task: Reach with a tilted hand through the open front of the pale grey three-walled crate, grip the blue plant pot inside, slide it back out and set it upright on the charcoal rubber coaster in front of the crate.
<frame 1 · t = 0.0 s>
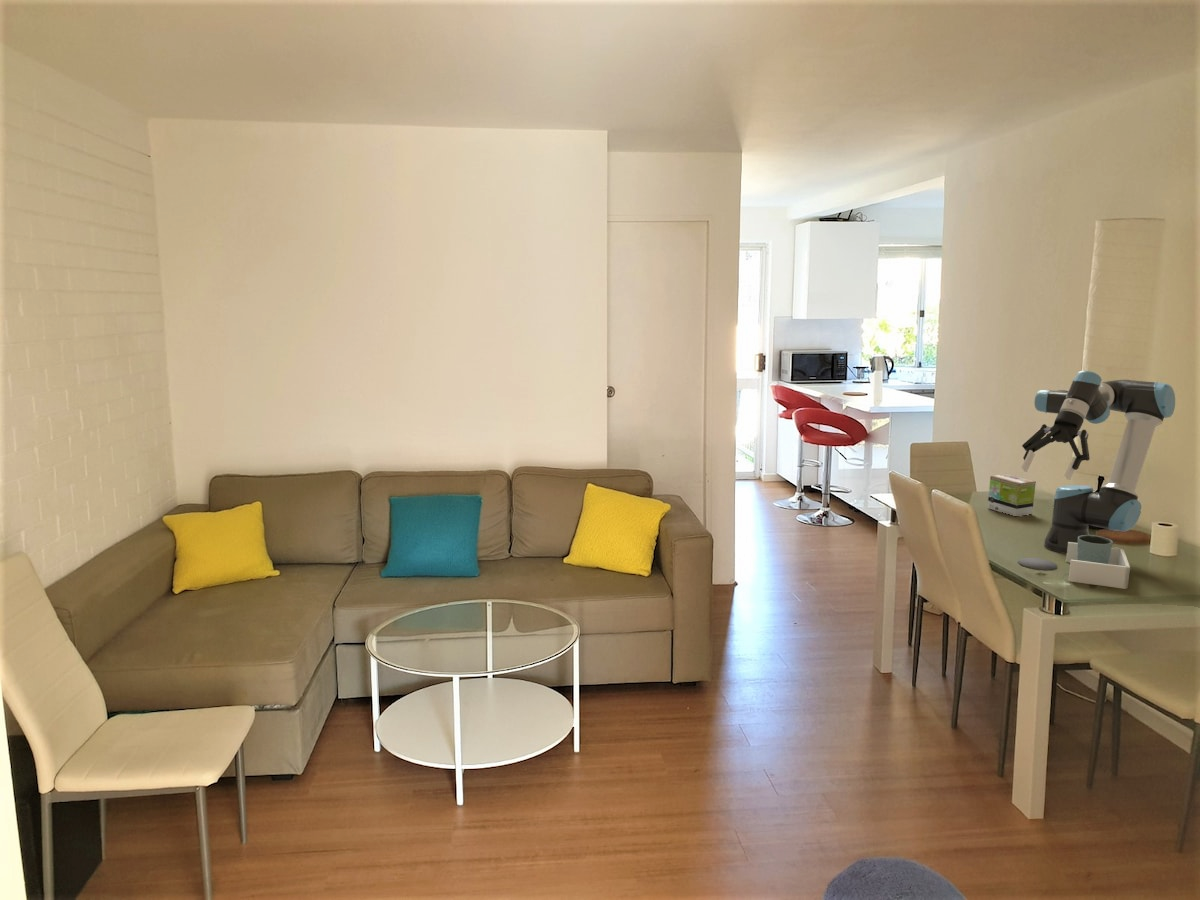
hand: (1045, 473, 273), 36 cm above the table, fingers open, 13 cm apart
blue plant pot: (1091, 574, 289), on the table
open-front crate: (1094, 574, 289), on the table
coaster: (1037, 564, 299), on the table
tea box: (1009, 512, 369), on the table
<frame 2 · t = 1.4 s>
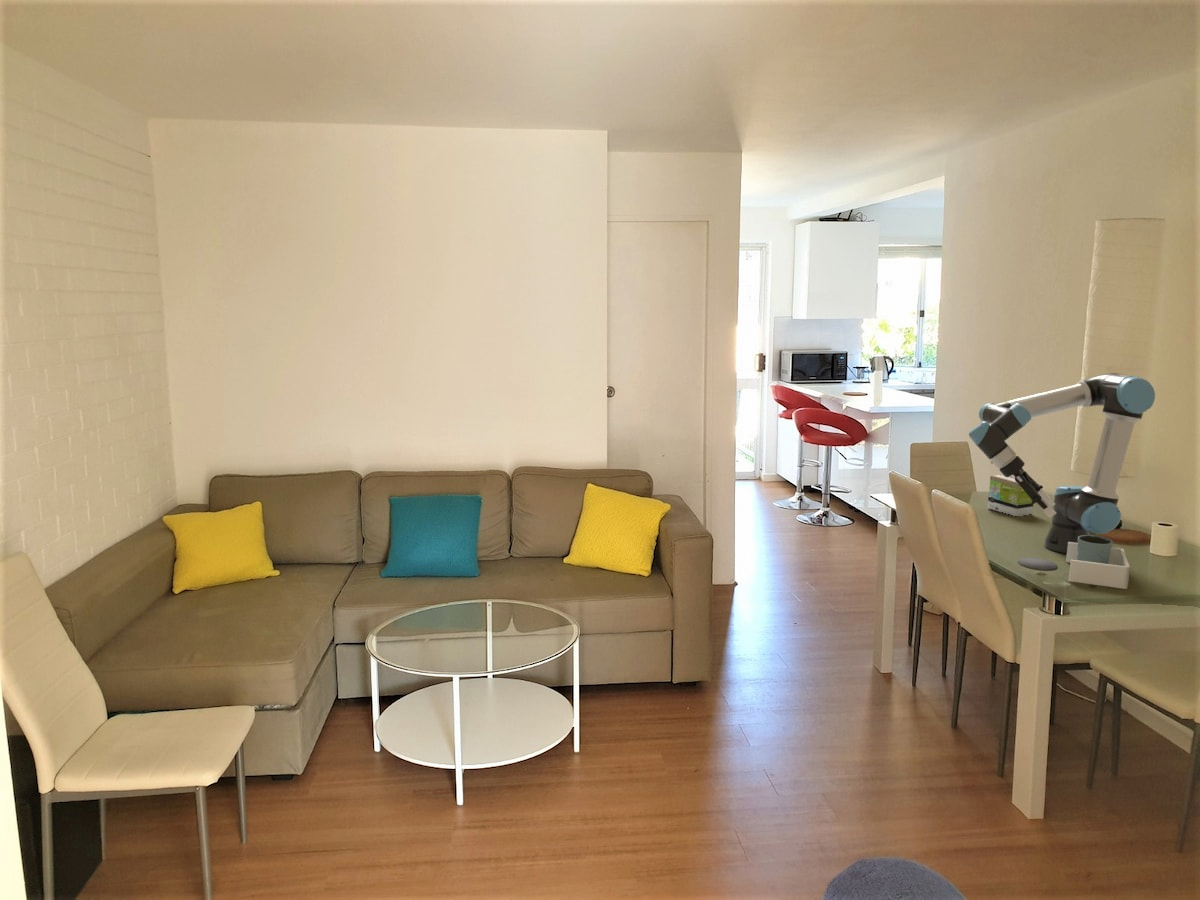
hand: (1052, 511, 291), 20 cm above the table, fingers open, 13 cm apart
nothing on the table moved.
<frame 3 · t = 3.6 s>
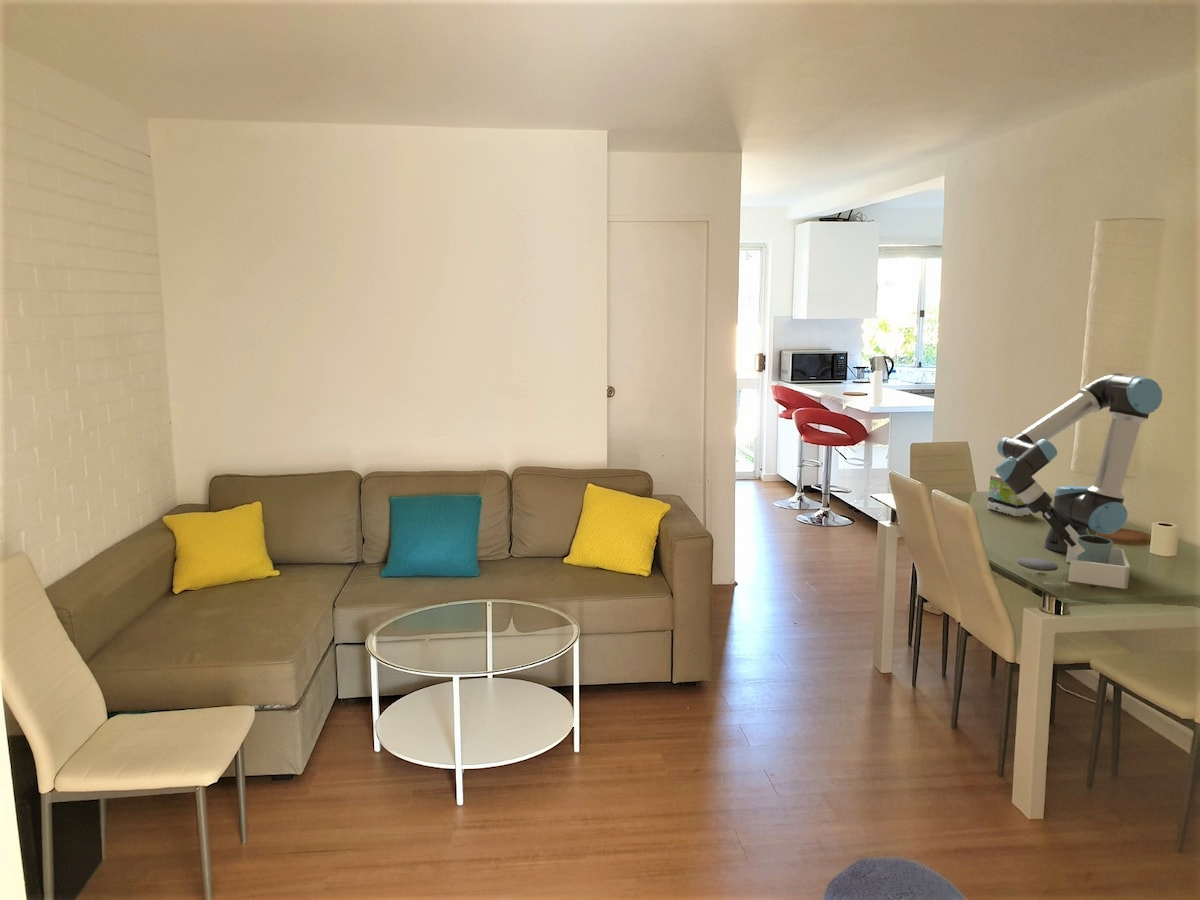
hand: (1080, 547, 289), 9 cm above the table, fingers open, 13 cm apart
nothing on the table moved.
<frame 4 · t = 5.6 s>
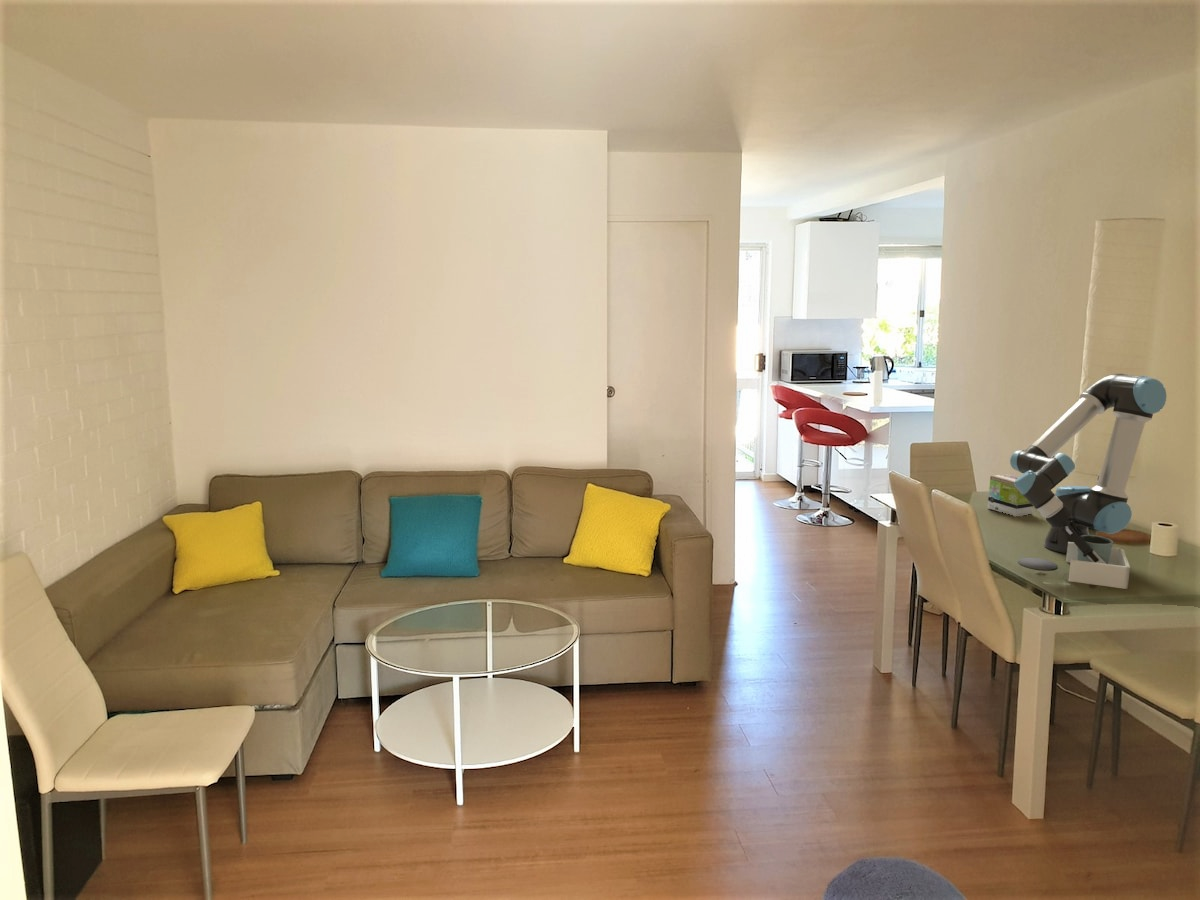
hand: (1103, 563, 287), 4 cm above the table, fingers closed on blue plant pot, 10 cm apart
blue plant pot: (1091, 574, 289), on the table, touching gripper
everything else where it was.
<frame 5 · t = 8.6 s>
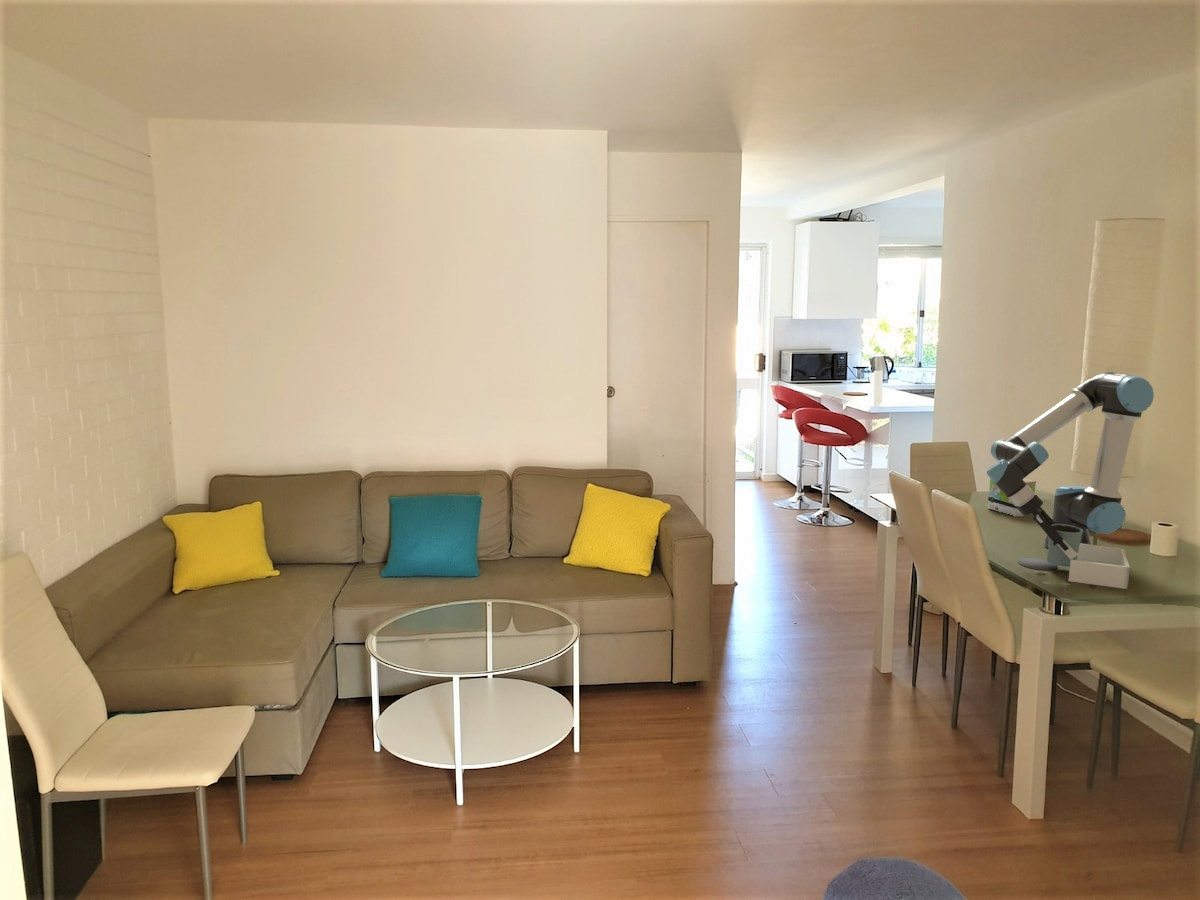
hand: (1073, 552, 290), 7 cm above the table, fingers closed on blue plant pot, 10 cm apart
blue plant pot: (1061, 563, 292), point 3 cm above the table, touching gripper
everything else where it was.
when the fingers open (5 cm above the table, at t = 11.6 s): blue plant pot stays where it is, resting on coaster.
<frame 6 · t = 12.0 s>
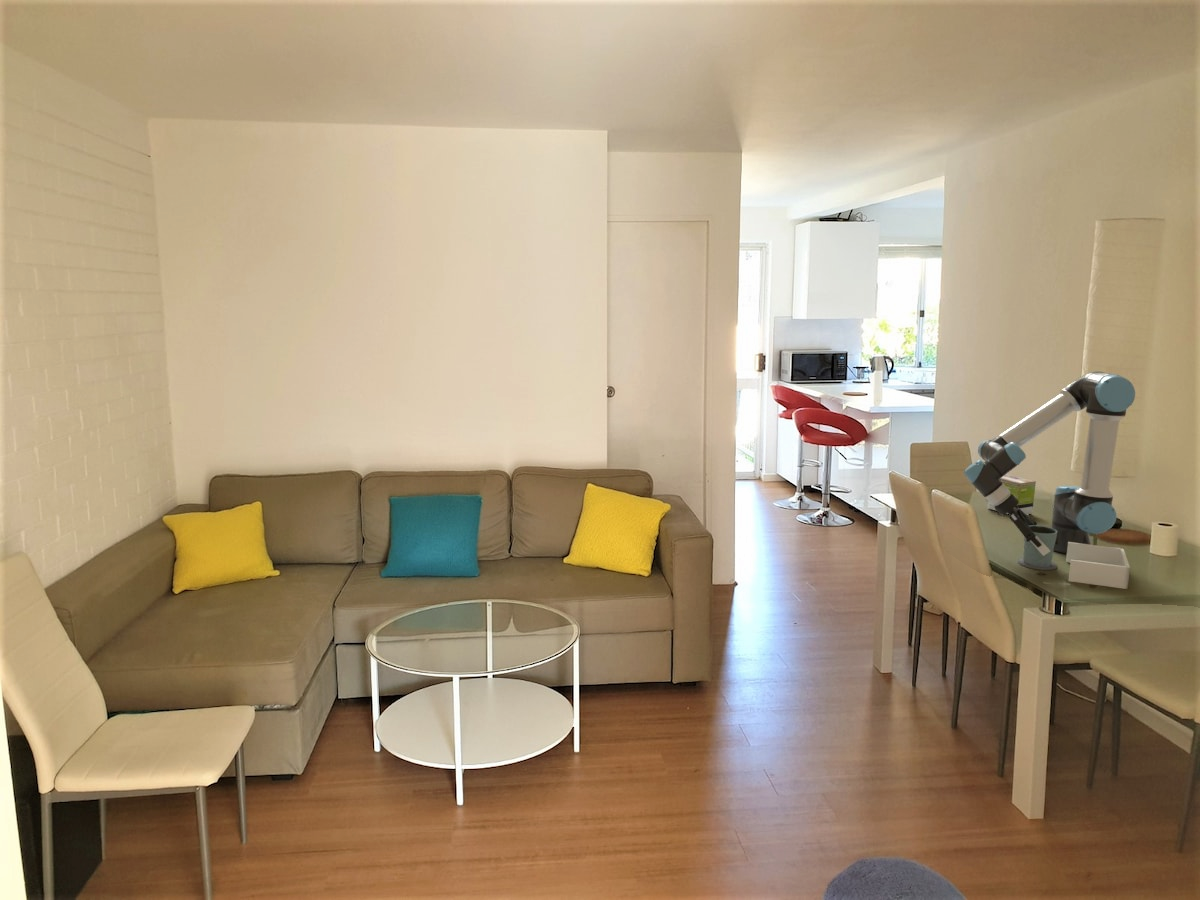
hand: (1046, 548, 297), 6 cm above the table, fingers open, 13 cm apart
blue plant pot: (1037, 563, 299), resting on coaster
everything else where it was.
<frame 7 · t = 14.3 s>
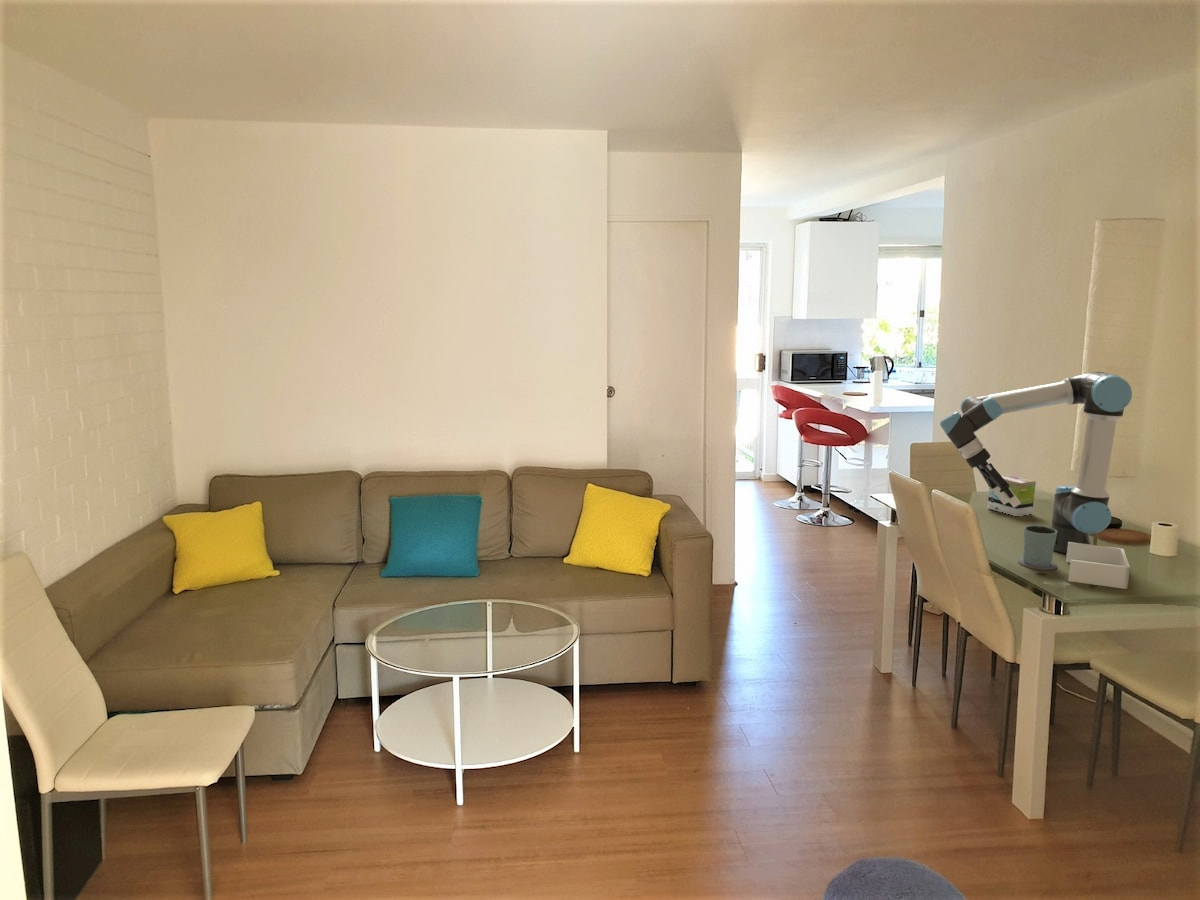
hand: (1012, 504, 300), 20 cm above the table, fingers open, 13 cm apart
nothing on the table moved.
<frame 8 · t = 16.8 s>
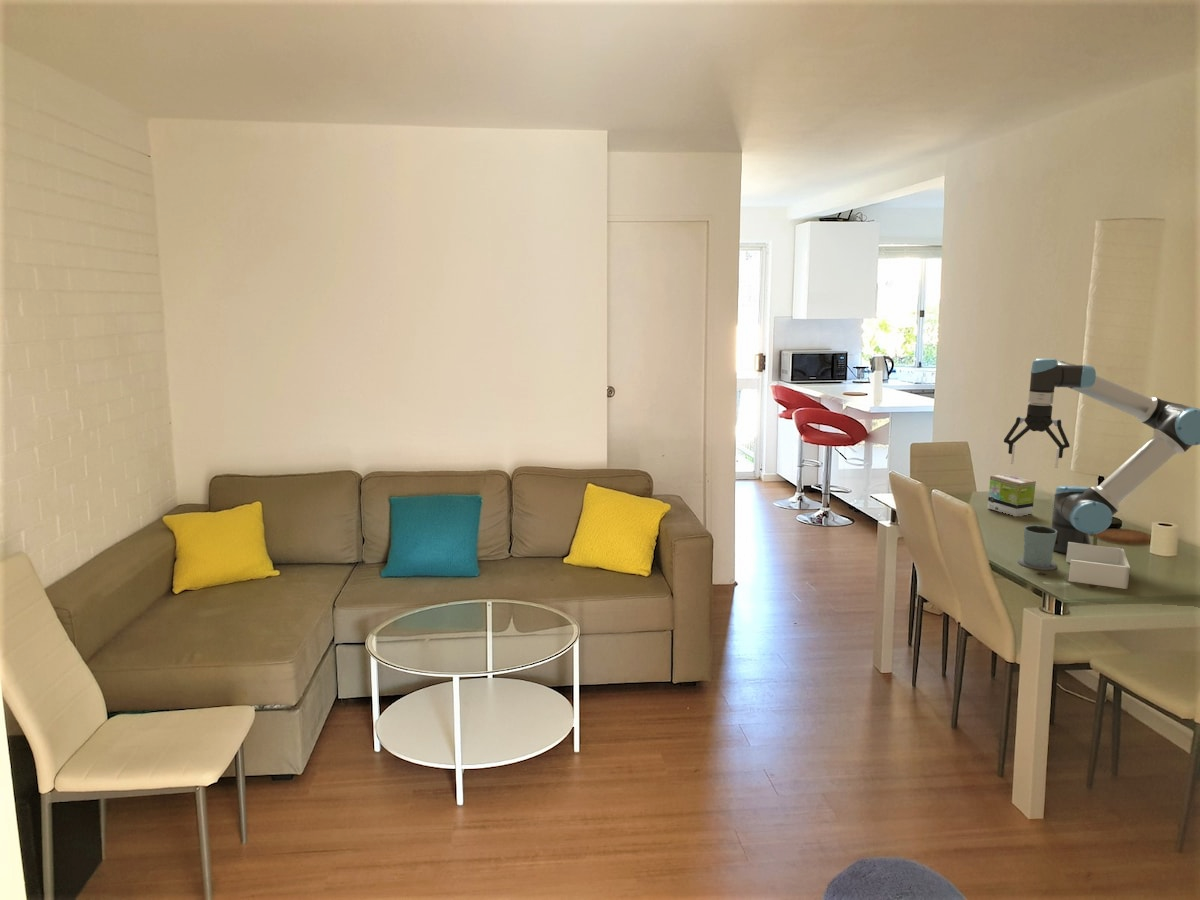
hand: (1033, 465, 302), 33 cm above the table, fingers open, 13 cm apart
nothing on the table moved.
at the end: blue plant pot inside the target area (0.1 cm from its centre), resting on coaster; blue plant pot tilted 0°; the gripper is holding nothing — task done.
